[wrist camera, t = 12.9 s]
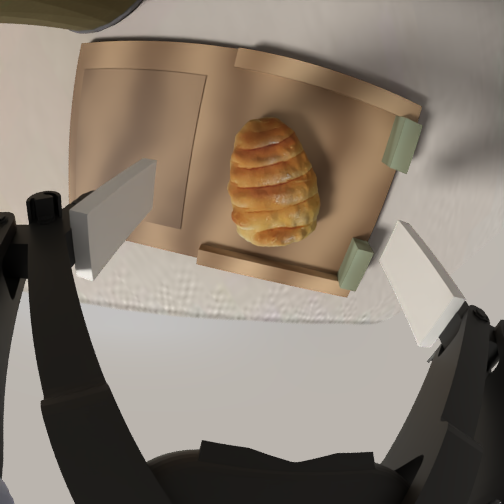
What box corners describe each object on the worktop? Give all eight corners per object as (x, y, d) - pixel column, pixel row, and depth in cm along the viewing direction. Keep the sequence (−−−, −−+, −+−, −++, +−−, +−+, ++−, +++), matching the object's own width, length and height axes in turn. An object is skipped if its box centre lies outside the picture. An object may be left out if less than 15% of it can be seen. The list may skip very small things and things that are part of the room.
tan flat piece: (75, 222, 27) (59, 235, 24) (87, 44, 18) (68, 41, 15) (343, 284, 28) (348, 304, 26) (411, 105, 19) (427, 107, 17)
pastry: (217, 124, 21) (206, 130, 17) (307, 110, 20) (314, 113, 16) (240, 235, 25) (235, 258, 22) (320, 225, 24) (327, 247, 21)
